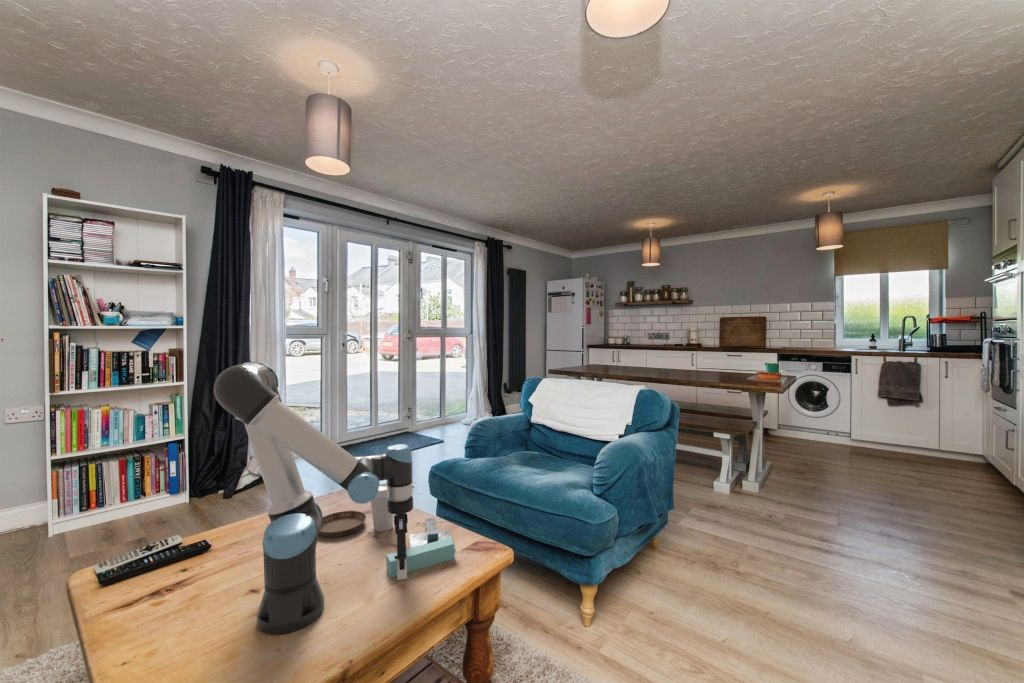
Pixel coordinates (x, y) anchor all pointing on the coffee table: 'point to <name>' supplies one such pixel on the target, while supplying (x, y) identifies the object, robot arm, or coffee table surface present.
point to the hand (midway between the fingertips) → (402, 566)
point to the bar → (423, 556)
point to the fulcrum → (429, 534)
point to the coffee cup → (381, 510)
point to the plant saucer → (342, 523)
